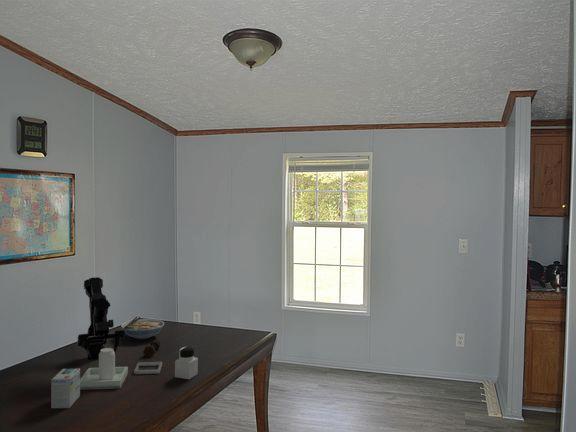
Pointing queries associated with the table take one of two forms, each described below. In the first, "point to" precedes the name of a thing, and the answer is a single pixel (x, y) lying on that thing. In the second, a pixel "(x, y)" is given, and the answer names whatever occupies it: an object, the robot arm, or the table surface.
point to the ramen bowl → (142, 328)
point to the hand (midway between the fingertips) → (103, 356)
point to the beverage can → (106, 364)
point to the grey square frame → (148, 370)
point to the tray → (93, 382)
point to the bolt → (151, 349)
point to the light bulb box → (65, 388)
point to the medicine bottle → (186, 364)
